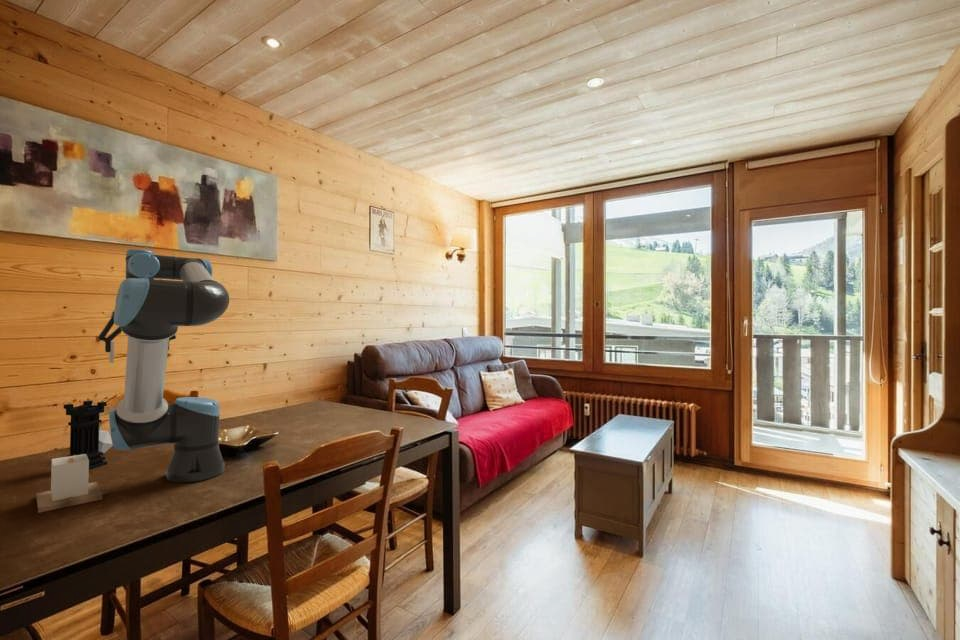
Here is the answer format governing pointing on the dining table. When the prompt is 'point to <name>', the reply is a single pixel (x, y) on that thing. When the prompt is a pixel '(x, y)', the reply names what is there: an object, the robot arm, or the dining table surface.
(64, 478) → the cream white block
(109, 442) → the die
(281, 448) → the dining table surface
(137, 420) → the robot arm
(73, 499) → the hub plate
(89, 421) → the chess piece
